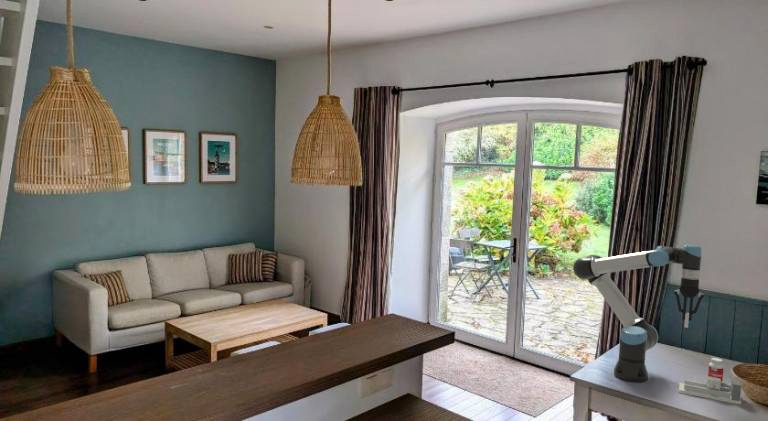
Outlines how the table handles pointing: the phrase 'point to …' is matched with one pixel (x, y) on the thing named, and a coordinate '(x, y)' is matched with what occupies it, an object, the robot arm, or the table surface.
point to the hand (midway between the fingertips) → (686, 326)
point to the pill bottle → (716, 368)
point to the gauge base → (713, 391)
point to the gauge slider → (714, 383)
